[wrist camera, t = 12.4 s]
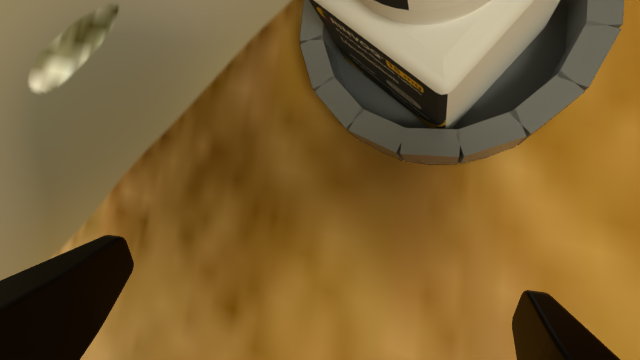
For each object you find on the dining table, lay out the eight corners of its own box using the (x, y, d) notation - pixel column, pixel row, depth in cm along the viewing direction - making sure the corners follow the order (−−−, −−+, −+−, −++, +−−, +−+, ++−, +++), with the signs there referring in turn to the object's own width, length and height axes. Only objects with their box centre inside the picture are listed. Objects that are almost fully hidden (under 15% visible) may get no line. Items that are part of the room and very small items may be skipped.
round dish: (649, -48, 17) (696, -106, 14) (505, 211, 18) (519, 211, 15) (387, -106, 21) (378, -160, 18) (283, 104, 22) (258, 87, 19)
